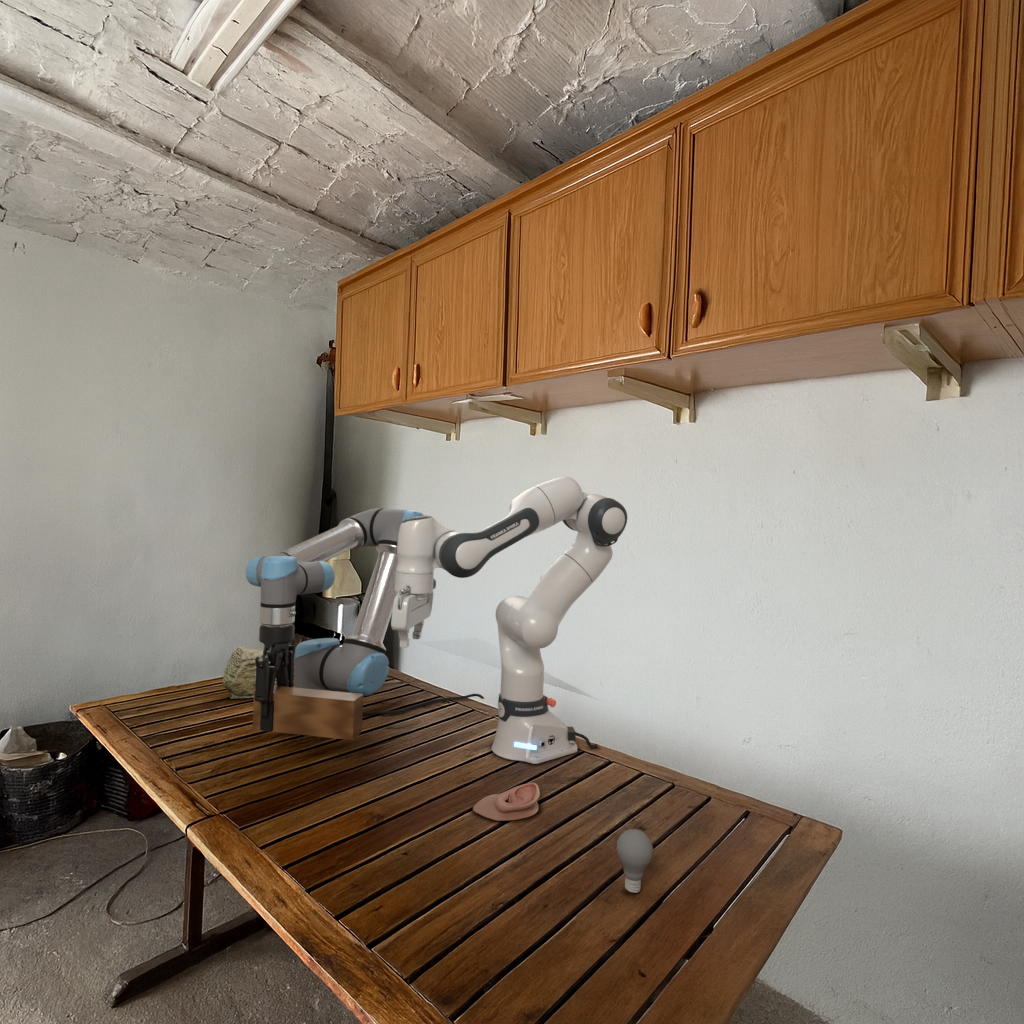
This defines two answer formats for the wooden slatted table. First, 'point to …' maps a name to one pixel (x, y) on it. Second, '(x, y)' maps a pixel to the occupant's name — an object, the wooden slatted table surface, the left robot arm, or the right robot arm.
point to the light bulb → (634, 857)
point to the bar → (314, 712)
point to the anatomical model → (510, 803)
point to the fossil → (242, 672)
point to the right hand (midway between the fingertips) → (410, 642)
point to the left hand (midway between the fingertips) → (273, 725)
